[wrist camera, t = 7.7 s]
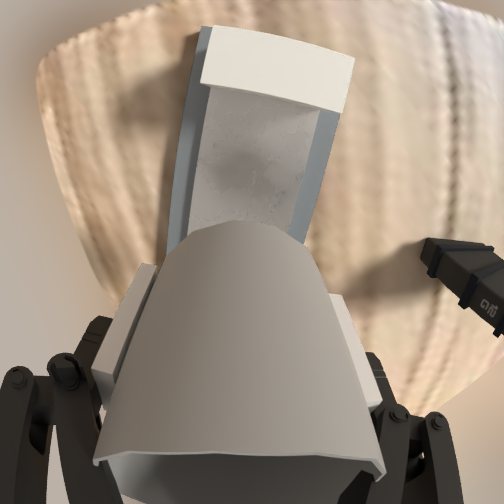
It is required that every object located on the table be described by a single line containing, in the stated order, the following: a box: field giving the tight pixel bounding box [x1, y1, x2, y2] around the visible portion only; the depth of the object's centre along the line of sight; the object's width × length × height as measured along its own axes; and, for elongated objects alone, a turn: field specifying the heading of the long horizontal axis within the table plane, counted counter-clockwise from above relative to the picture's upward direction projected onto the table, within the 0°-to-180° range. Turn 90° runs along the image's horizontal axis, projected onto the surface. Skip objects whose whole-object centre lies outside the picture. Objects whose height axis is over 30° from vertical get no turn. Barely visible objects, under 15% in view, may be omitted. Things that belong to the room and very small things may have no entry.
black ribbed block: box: [421, 238, 504, 338], centre depth 27 cm, size 4×13×15 cm, turn 86°
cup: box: [93, 220, 387, 504], centre depth 11 cm, size 8×8×10 cm
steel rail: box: [187, 87, 320, 236], centre depth 27 cm, size 28×9×1 cm, turn 168°
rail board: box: [166, 26, 340, 256], centre depth 28 cm, size 31×13×2 cm, turn 168°
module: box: [200, 25, 355, 114], centre depth 18 cm, size 4×9×6 cm, turn 78°
